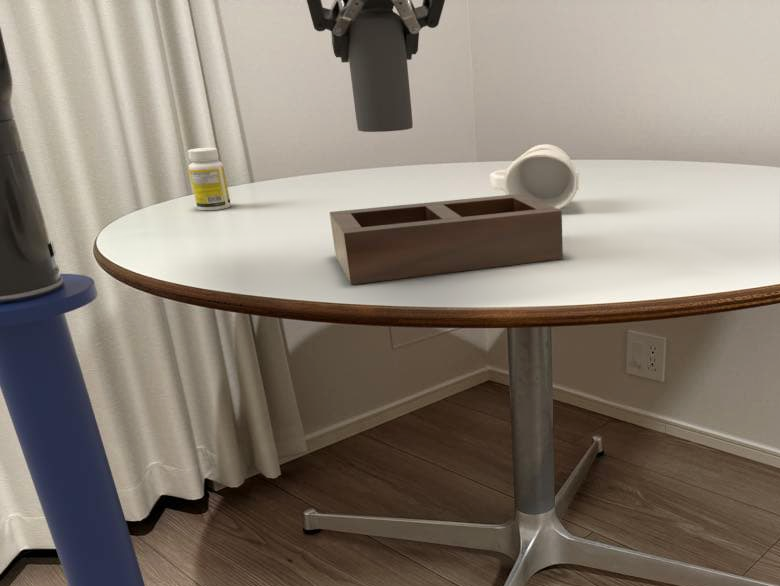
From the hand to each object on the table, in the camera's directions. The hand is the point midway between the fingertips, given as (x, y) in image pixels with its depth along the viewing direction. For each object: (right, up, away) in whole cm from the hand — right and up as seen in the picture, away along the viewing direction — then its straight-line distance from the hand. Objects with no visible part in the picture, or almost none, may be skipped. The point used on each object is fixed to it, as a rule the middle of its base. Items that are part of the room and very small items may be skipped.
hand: (375, 54), depth 82 cm
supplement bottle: (-31, -7, +35) cm, 48 cm away
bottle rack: (+7, -21, +2) cm, 22 cm away
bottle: (+1, -7, +2) cm, 8 cm away
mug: (+17, -10, +26) cm, 33 cm away
